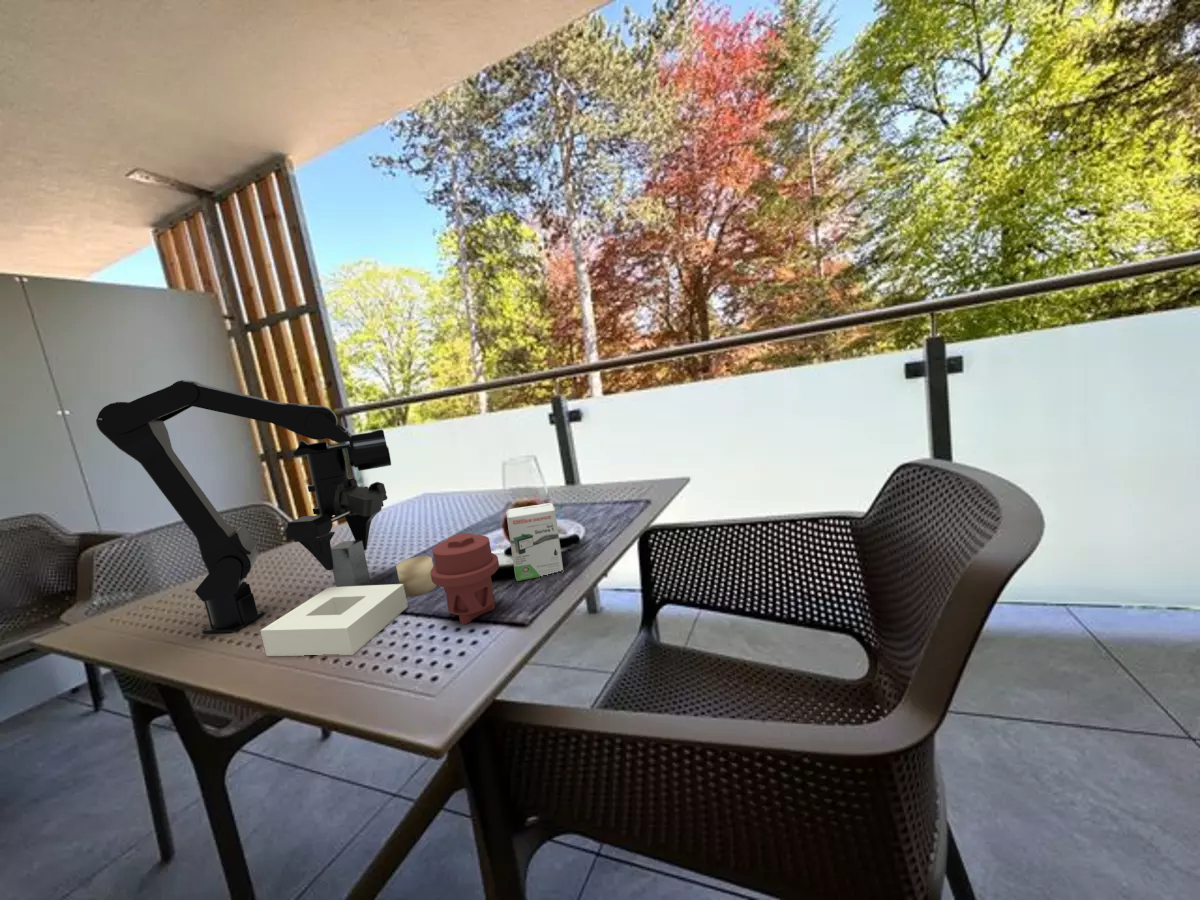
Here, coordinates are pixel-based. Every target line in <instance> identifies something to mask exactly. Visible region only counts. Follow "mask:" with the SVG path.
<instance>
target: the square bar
mask: <svg viewBox="0 0 1200 900" xmlns="http://www.w3.org/2000/svg"><path fill="white" fill-rule="evenodd" d="M331 551H332V558H333V570H332V574H333V578H334V579H333V580H334V583H335V587H345V586H368V585H372V582H371V581H372V580H371V577H370V573H369V568H368V567H369V566H368V563H367V558H366V554H365V551H364V547H363V543H362V540H358V541H355V540H345V541H341V542H339V543H337V544H335V545H333V546H331Z"/></svg>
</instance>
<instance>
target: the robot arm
mask: <svg viewBox="0 0 1200 900" xmlns="http://www.w3.org/2000/svg"><path fill="white" fill-rule="evenodd" d="M192 407H194V408H200V409H204V410H209V411H213V412H217V413H223V414H227V415H232V416H237V417H240V418H241V417H242V418H245V419H251V420H256V421H260V422H265V423H269V424H273V425H275V426H278V427H281V428H282V429H286V430H287V431H291V432H292V433H294V434H297V435H301V436H303V437H306V438H309V439H312V440H316V441H319V440H325V439H327V440H330V441H333V442H335V443H338V444H336V445H331V446H329V444H328V441H321V442H320V441H319V442H314V443H308V442H307V441H305V440H301V441H300V442H299V444H298V447H296V449H295V450H294V451H293V452H292V455H293V456H294V457H299V456H306V457H307V462H308V467H309V472H310V477H311V482H312V484H310V485H307V491H308V493H309V492H311V493H312V492H314V496H315V500H316V505H317V506H316V507H314V508H312V514H313V515H304V516H301V517H297V518H296V519H294V520H291V521H289V522H287V524H286V525H285V527H284V532H285V537H286V540H287V541H291V540H293V542H294V543H300V545H302V546H303V547H304V548H305V549H306V550H308V552H309V553H310V554H311V555H312V556H313V557H314V558H315V559H316V560H317V561H318V562H319V564H320V565H322V567H323V568H324V569H325V570H326V571H333V558H332V551H331V547H332V545H331V540H332V538H333V537H334V535H335V533H336V532H335V531H331V530H332V529H333V526H334V525H333V523H335V522H336V521H339V520H341V519H344V518H345V520H346V522H347V525H348V527H349V529H350V532H351V534H352V535H353V539H354V541H358V540H362V543H363V547H364V552H365V551H366V550H367V549H368V541H369V534H370V529H371V525H372V521H373V519H374V518H375V516H376V515H377V514H378V513H380V512H381V511H382V508H383V507H384V501H387V499H388V496H387V491H386V487H385V484H384V483H383V482H379V481H376V482H373V483H371V484H370V485H369V486H367V485H366V486H364V487H362V486H359V485H358V483H357V479H355V477H349V473H348V468H347V463H346V458H345V457H346V456H345V453H344V449H346V450H347V455H348V460H349V465H350V467H352V468H353V467H354V468H357V470H358V472H362V471H366V470H372V469H377V468H378V469H379V468H384V467H385V468H386V467H389V466H392V460H391V454H390V449H389V446H388V445H387V441H386V436H385V433H384V430H383V429H382V428H381V429H377V430H376V429H375V430H373V431H370V432H363V433H357V434H356V433H355V434H351V432H349V429H347V430H346V429H345V427H344V426H342V425H340V424H339V423H338V417H337V415H336V413H335V412H334V411H333V410H332V409H331V408H329V407H327V406H325V405H316V404H304V403H291V402H290V403H289V402H279V401H275V400H270V399H266V398H262V397H258V396H254V395H249V394H244V393H240V392H237V391H233V390H232V391H231V390H227V389H222V388H219V387H215V386H210V385H207V384H206V385H205V384H203V383H200V382H198V381H195V380H186V379H181V380H177V381H176V382H175V381H174V383H172V384H171V385H168V386H167V387H164V388H162V389H159V390H157V391H154V392H151V393H149V394H146V395H144V396H141V397H138V398H136V399H134V400H132V401H116V402H111V403H108V404H107V405H105V406H104V407H102V408H101V410H100V411H99V412H98V415H97V417H96V420H95V423H96V427H97V428H98V431H100V432H101V433H102V435H103V436H105V437H106V438H107V439H108V440H109V441H110V442H111V443H112V444H113V445H114V446H116V447H117V448H118V449H119V450H120V451H121V452H123V453H125V454H126V455H128V456H129V457H130V458H132V459H134V460H135V461H137V462H138V463H139V464H140V465H141V466H142V468H143V469H144V470H145V472H147V474H148V475H149V477H150V478H151V479H152V481H153V483H154V484H155V485H156V486H157V488H158V489H159V491H160V493H162V494H163V495H164V497H165V498H166V500H167V501H168V502H169V504H170V505H171V506H172V507H173V508H174V509H173V510H175V511H176V514H178V515H179V517H180V519H182V521H183V522H184V524H185V525H186V526H187V527H188V529H189V531H190V532H191V533H192V534H193V535H194V537H195V538H196V541H197V544H198V547H199V548H198V549H199V552H200V557H201V560H202V562H203V563H204V565H205V569H206V570H207V573H208V574H207V576H206V577H205V578H204V579H203V580H202V582H201V583H200V584H199V585H198V587H197V588H196V589H195V591H194V593H195V594H196V596H197V597H198V598H199V599H200V600H201V601H202V602H203V603H204V607H205V610H206V614H207V618H208V621H209V625H208V626H206V627H204V628H202V629H201V633H203V634H206V633H209V634H210V633H235V632H236V631H238V630H239V628H240V629H241V628H243V627H245V626H246V625H248V624H250V623H252V622H253V621H255V620H256V619H258V618H260V617H261V616H264V615H265V614H266V611H265V610H263V609H262V610H261V609H260V610H258V608H257V605H256V599H255V596H254V595H255V594H254V593H253V592H252V588H251V585H250V583H247V582H246V581H244V580H246V578H247V577H248V575H249V574H250V572H251V570H252V569H253V567H254V565H255V564H256V562H257V559H258V550H257V546H258V544H259V543H258V541H256V540H254V539H253V538H252V537H251V535H250V533H249V531H248V529H247V528H246V526H245V525H241V526H240V527H238V528H237V529H236V528H235V527H233V526H231V525H230V524H228V523H227V522H226V521H225V520H224V519H223V517H222V516H221V515H220V513H219V512H218V511H217V509H216V507H214V505H213V504H212V502H211V501H210V499H209V498H208V497H207V495H206V494H205V492H204V491H203V490H202V488H201V487H200V486H199V484H198V483H197V482H196V479H194V477H193V476H192V474H191V473H190V472H189V470H188V469H187V468H186V466H185V464H183V462H182V460H181V459H180V458H179V457H178V455H177V454H176V453H175V451H174V448H173V446H172V442H171V439H170V434H169V431H168V428H167V426H166V424H165V422H166V421H168V420H170V419H172V418H174V417H176V416H178V415H179V414H181V413H184V411H185V412H186V411H187V410H189V409H190V408H192ZM345 442H347V443H345ZM340 443H342V444H340ZM343 443H344V444H343ZM249 622H250V623H249ZM247 623H248V624H247ZM244 625H245V626H244ZM242 626H243V627H242Z"/></svg>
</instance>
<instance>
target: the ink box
mask: <svg viewBox="0 0 1200 900" xmlns="http://www.w3.org/2000/svg"><path fill="white" fill-rule="evenodd" d="M505 514H506V520H507V528H508V535H509V541H510V542H509V543H510V549H511V555H512V563H513V569H514V570H513V571H514V577H515V580H516V581H517V582H520V581H526V580H529V579H531V580H532V579H536V578H540V576H541V577H544V576H543V575H547V576H549V575H548V574H551V573H554V572H558V571H561V570H563V571H564V566H563V559H562V558H563V557H562V551H561V550H562V549H561V543H560V536H559V528H558V520H557V514H556V508H555V506H554V504H553V503H551V502H548V503H547V502H546V503H541V504H536V505H535V504H534V505H528V506H521V507H514V508H509V509H508V510H507V511H506V512H505Z"/></svg>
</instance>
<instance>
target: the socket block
mask: <svg viewBox="0 0 1200 900" xmlns="http://www.w3.org/2000/svg"><path fill="white" fill-rule="evenodd" d="M408 605H409V604H408V601H407V596H406V595H405V590H404V585H403V584H400V583H394V584H392V583H391V584H371V585H368V586H345V587H336V586H330V587H326V588H325V589H323V590H322V591H321V592H319V593H317V594H316V595H313V597H311V598H310V599H308V600H306V601H305V602H303V603H301V604H300V605H298V606H297V607H295V608H293V609H292V610H291V611H289V612H287V613H286V614H284V615H282V616H281V617H279V618H278V619H276V620H275V621H273V622H272V623H270V624H268V625H266V626H265V627H264V628H262V629H260V634H261V639H262V641H263V646H264V650H265V655H266V657H289V656H290V657H291V656H292V657H294V656H297V657H305V656H304V655H318V656H324V655H323V654H339V655H338V656H353V655H354V654H356V653H357V652H358V651H359V650H360V649H361V648H362V647H364V646H365V645H366V644H367V643H368V642H369V641H371V640H372V639H373V638H374V637H375V636H376V635H377V634H378V633H379V632H381V631H382V630H383V629H385V628H386V626H388V625H389V624H390V623H391V622H392V621H393V620H395V619H396V618H397V617H398V616H399V615H400V614H401V613H402V612H404V611H405V610H406V609H407V608H408Z"/></svg>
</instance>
